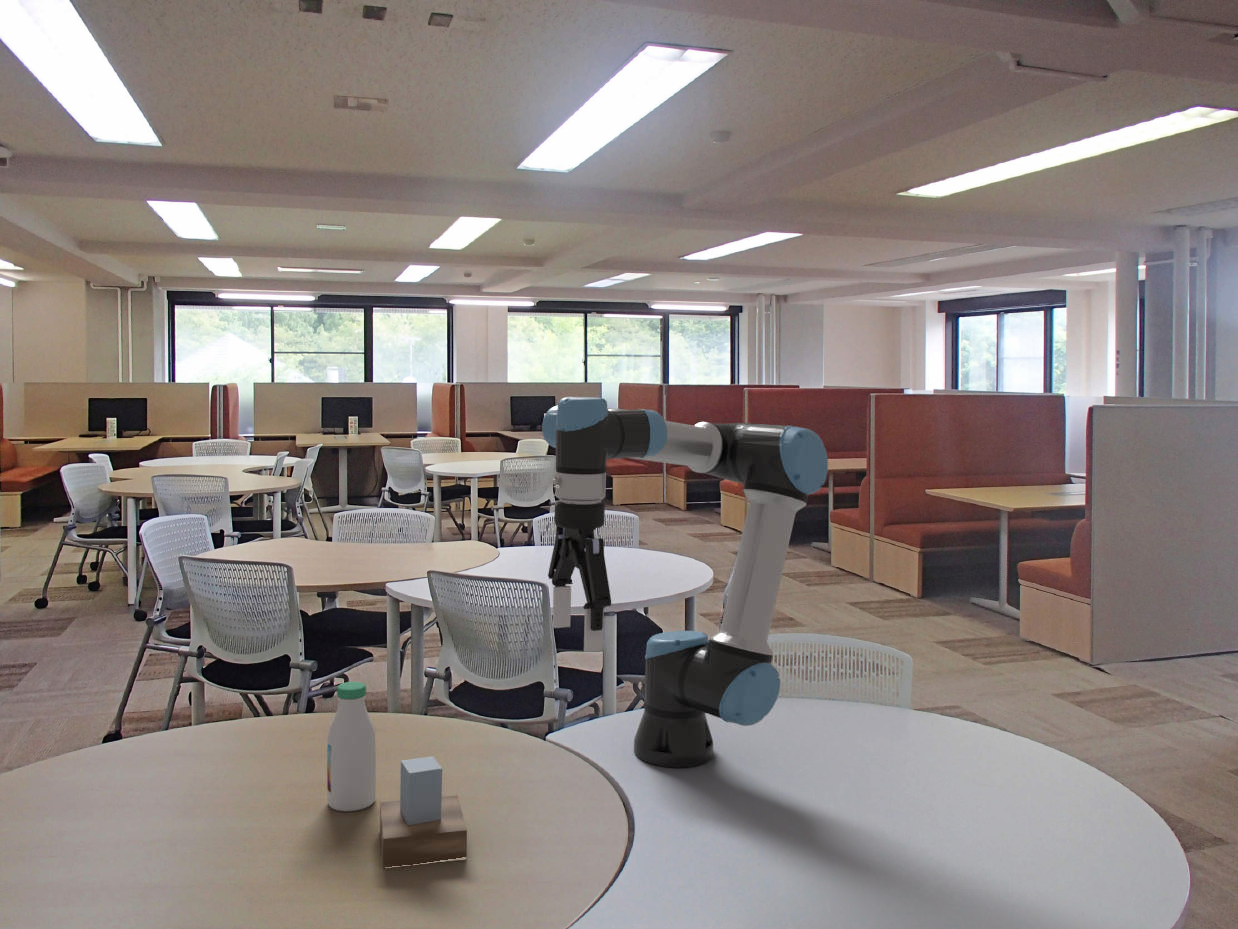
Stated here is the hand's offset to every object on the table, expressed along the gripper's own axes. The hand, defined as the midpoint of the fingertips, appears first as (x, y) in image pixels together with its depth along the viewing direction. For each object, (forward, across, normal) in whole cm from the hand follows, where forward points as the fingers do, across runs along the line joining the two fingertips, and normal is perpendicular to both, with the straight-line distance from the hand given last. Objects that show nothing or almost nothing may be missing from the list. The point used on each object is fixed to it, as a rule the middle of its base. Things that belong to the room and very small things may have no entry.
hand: (576, 638), depth 150 cm
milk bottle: (+32, -24, -30) cm, 50 cm away
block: (+27, -6, -22) cm, 36 cm away
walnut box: (+32, -6, -22) cm, 39 cm away
